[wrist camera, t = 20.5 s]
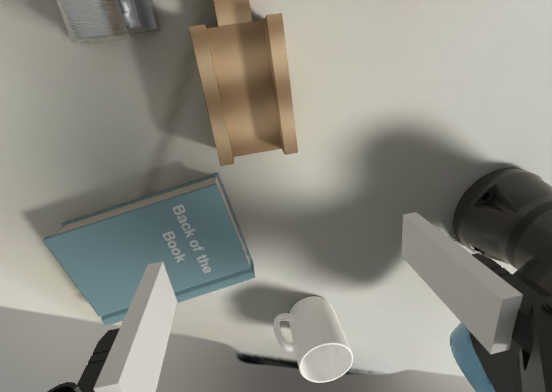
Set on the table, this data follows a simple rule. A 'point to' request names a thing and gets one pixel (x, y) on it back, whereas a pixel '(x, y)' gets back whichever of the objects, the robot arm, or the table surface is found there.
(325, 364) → the cup
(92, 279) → the book
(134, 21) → the v block
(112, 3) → the axle
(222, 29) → the beam
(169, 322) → the robot arm
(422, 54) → the table surface
